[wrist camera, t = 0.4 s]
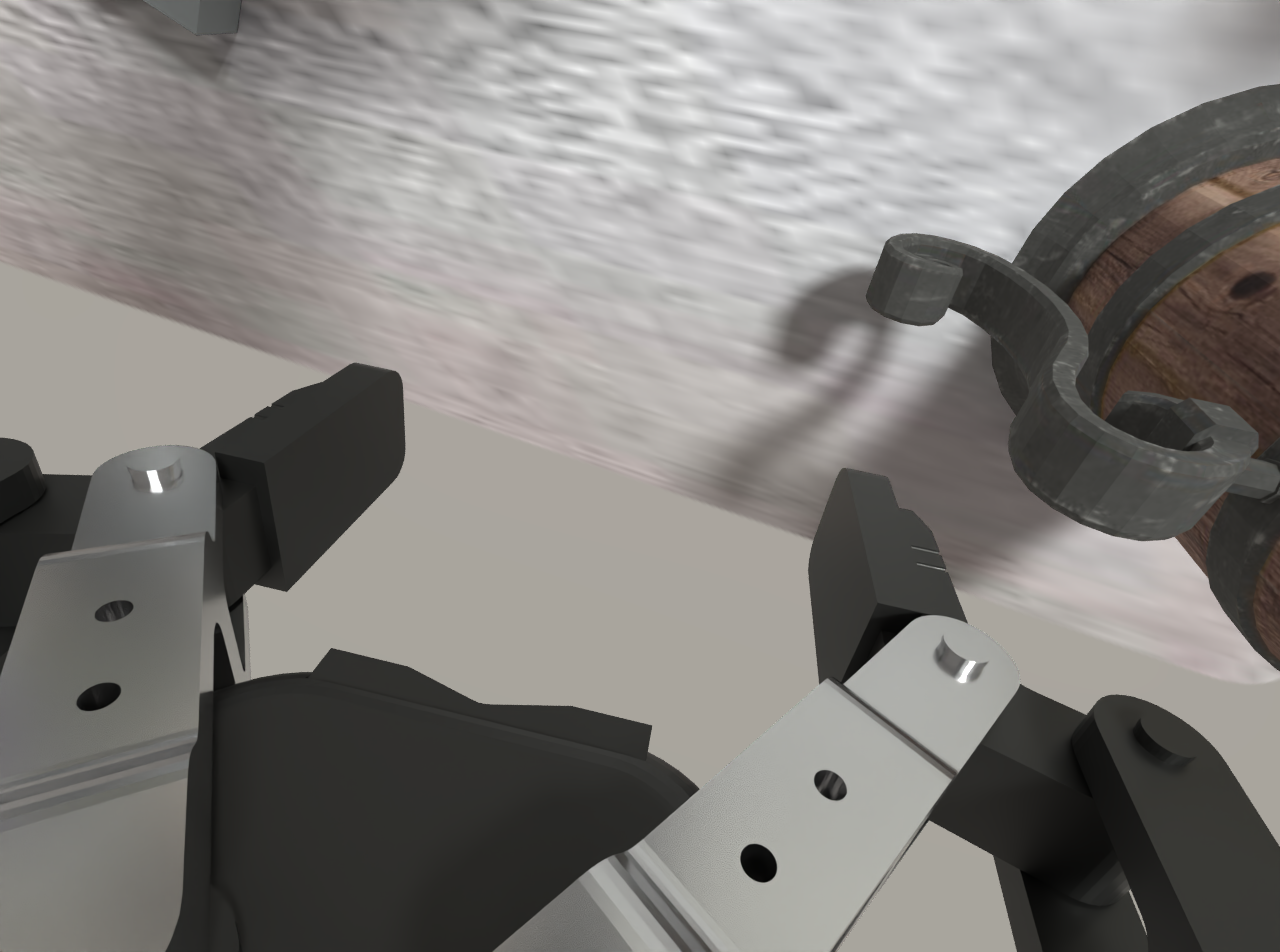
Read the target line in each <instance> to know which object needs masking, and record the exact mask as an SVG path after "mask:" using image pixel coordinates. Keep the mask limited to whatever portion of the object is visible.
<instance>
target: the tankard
mask: <svg viewBox="0 0 1280 952" xmlns="http://www.w3.org/2000/svg"><path fill="white" fill-rule="evenodd" d="M866 298H867V302H868V303H869V305H870V306H871V308H872V309H873V310H875V311H876V312H878V313H880V314H881V315H883V316H884V317H887V318H890V319H892V320H895V321H897V322H900V323H905V324H910V325H915V326H927V325H934V324H935V323H936V322H938V321H939V320H940V319H941V318H942V317H943V316H944V315H945V313H946V310H947V308H950V309H952V310H954V311H956V312H958V313H960V314H962V315H964V316H965V317H967V318H968V319H970V320H971V321H973V322H974V323H975V324H977V325H978V326H980V327H981V328H983V329H984V330H985V331H986V332H987V333H988V334H990V335H991V349H992V365H993V369H994V372H995V375H996V378H997V381H998V384H999V387H1000V390H1001V393H1002V395H1003V396H1004V398H1005V399H1006V401H1007V402H1008V404H1009V405H1010V407H1011V408H1012V410H1013V411H1014V413H1015V414H1016V417H1015V419H1014V421H1013V422H1012V424H1011V426H1010V434H1009V442H1008V445H1009V454H1010V457H1011V460H1012V464H1013V467H1014V470H1015V472H1016V473H1017V474H1018V476H1019V477H1020V478H1021V480H1022V481H1023V482H1024V484H1025V485H1026V486H1027V488H1028V489H1029V490H1030V491H1031V492H1033V493H1034V494H1035V495H1036V496H1038V497H1039V498H1040V499H1042V500H1043V501H1044V502H1045V503H1047V504H1048V505H1049V506H1050V507H1052V508H1053V509H1055V510H1057V511H1059V512H1060V513H1062V514H1064V515H1066V516H1068V517H1069V518H1071V519H1073V520H1075V521H1077V522H1078V523H1080V524H1082V525H1085V526H1088V527H1090V528H1093V529H1096V530H1098V531H1101V532H1103V533H1106V534H1109V535H1111V536H1116V537H1121V538H1127V539H1132V540H1138V541H1153V540H1166V539H1169V538H1172V537H1175V538H1176V539H1177V540H1178V541H1179V542H1180V544H1181V545H1182V546H1183V547H1184V549H1185V550H1186V551H1187V552H1188V554H1189V555H1190V556H1191V557H1192V559H1193V560H1194V561H1195V562H1196V564H1197V565H1198V566H1199V567H1200V569H1201V570H1202V571H1203V572H1204V573H1205V575H1206V576H1207V577H1208V578H1209V584H1210V588H1211V590H1212V592H1213V594H1214V595H1215V597H1216V599H1217V600H1218V602H1219V604H1220V605H1221V607H1222V609H1223V610H1224V612H1225V613H1226V614H1227V616H1228V617H1229V618H1230V619H1231V621H1232V622H1233V623H1234V625H1235V626H1236V627H1237V628H1238V630H1239V631H1240V632H1241V633H1242V635H1243V636H1244V637H1245V638H1246V640H1247V641H1248V642H1249V643H1250V645H1251V646H1252V647H1253V648H1254V650H1255V651H1256V652H1258V653H1259V654H1260V655H1261V656H1262V657H1263V658H1264V659H1265V660H1267V661H1268V662H1269V663H1270V664H1271V665H1272V666H1273V667H1274V668H1276V669H1277V670H1278V671H1280V84H1277V85H1269V86H1261V87H1256V88H1253V89H1250V90H1246V91H1243V92H1240V93H1236V94H1233V95H1230V96H1226V97H1223V98H1220V99H1216V100H1213V101H1210V102H1206V103H1203V104H1201V105H1199V106H1197V107H1195V108H1192V109H1190V110H1188V111H1186V112H1184V113H1182V114H1180V115H1177V116H1175V117H1173V118H1171V119H1169V120H1167V121H1165V122H1163V123H1160V124H1158V125H1156V126H1154V127H1152V128H1150V129H1149V130H1147V131H1145V132H1144V133H1142V134H1141V135H1139V136H1138V137H1136V138H1135V139H1133V140H1132V141H1130V142H1129V143H1127V144H1126V145H1124V146H1122V147H1121V148H1119V149H1118V150H1116V151H1115V152H1113V153H1112V154H1110V155H1109V156H1107V157H1106V158H1104V159H1103V160H1102V161H1101V162H1099V163H1098V164H1097V165H1096V166H1095V167H1094V168H1093V169H1091V170H1090V171H1089V172H1088V173H1087V174H1086V175H1084V176H1083V177H1082V178H1081V179H1080V180H1079V181H1078V182H1076V183H1075V184H1074V185H1073V186H1072V187H1071V188H1070V189H1068V190H1067V191H1066V192H1065V193H1064V194H1063V195H1062V196H1061V198H1060V199H1059V200H1058V201H1057V202H1056V203H1055V205H1054V206H1053V207H1052V208H1051V209H1050V210H1049V211H1048V213H1047V214H1046V215H1045V216H1044V217H1043V218H1042V220H1041V221H1040V222H1039V223H1038V224H1037V225H1036V227H1035V228H1034V229H1033V230H1032V232H1031V234H1030V235H1029V237H1028V238H1027V240H1026V242H1025V243H1024V245H1023V247H1022V248H1021V250H1020V251H1019V253H1018V255H1017V256H1016V258H1015V260H1014V261H1013V263H1010V262H1008V261H1006V260H1004V259H1003V258H1001V257H999V256H997V255H994V254H992V253H989V252H987V251H984V250H982V249H980V248H977V247H975V246H971V245H968V244H965V243H961V242H958V241H955V240H951V239H947V238H942V237H938V236H933V235H925V234H917V233H912V234H899V235H896V236H893V237H891V238H890V239H888V240H887V241H886V243H885V246H884V248H883V251H882V253H881V256H880V259H879V262H878V264H877V267H876V270H875V272H874V275H873V278H872V280H871V283H870V286H869V288H868V291H867V294H866Z"/></svg>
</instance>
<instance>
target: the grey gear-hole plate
mask: <svg viewBox="0 0 1280 952" xmlns="http://www.w3.org/2000/svg"><path fill="white" fill-rule="evenodd" d="M143 1H144V2H146V3H148V4H149V5H151V6H152V7H154V8H155V9H157V10H158V11H160V12H161V13H163V14H164V15H166V16H167V17H169V18H170V19H172V20H173V21H175V22H177V23H178V24H180V25H181V26H183V27H184V28H186V29H187V30H189V31H190V32H192V33H193V34H195V35H210V34H226V33H237V28H238V21H239V14H240V6H241V0H143Z"/></svg>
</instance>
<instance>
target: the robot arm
mask: <svg viewBox="0 0 1280 952" xmlns="http://www.w3.org/2000/svg"><path fill="white" fill-rule="evenodd" d="M404 456H405V426H404V402H403V384H402V379H401V377H400V375H399V374H398V372H396V371H393V370H388V369H383V368H379V367H374V366H369V365H365V364H360V363H352V364H350V365H348V366H347V367H345V368H344V369H342V370H341V371H339V372H338V373H336V374H334V375H333V376H331V377H330V378H328V379H327V380H325V381H324V382H320V383H317V384H314V385H310V386H307V387H304V388H301V389H298V390H294V391H292V392H290V393H288V394H287V395H285V396H284V397H282V398H281V399H279V400H277V401H276V402H274V403H272V406H271V407H268V406H267V407H266V408H264V409H263V410H261V411H259V412H258V413H256V414H255V417H254V418H252V417H250V418H248V419H246V420H245V421H243V422H242V423H240V424H239V425H237V426H235V427H234V428H232V429H230V430H229V431H227V432H226V433H224V434H222V435H221V436H219V437H217V438H216V439H214V440H213V441H211V442H209V443H208V444H206V445H205V446H203V447H201V448H200V449H198V448H194V447H189V446H179V445H167V446H166V445H165V446H154V447H147V448H142V449H137V450H133V451H130V452H127V453H124V454H121V455H119V456H116V457H114V458H112V459H110V460H108V461H107V462H105V463H103V464H102V465H101V466H100V467H98V468H97V469H96V471H95V472H94V473H93V475H92V476H90V475H51V474H50V475H49V474H42V472H41V470H40V467H39V464H38V462H37V459H36V457H35V454H34V451H33V450H32V448H31V447H30V446H29V445H28V444H26V443H24V442H21V441H18V440H14V439H8V438H0V952H837V951H838V949H839V948H840V946H841V945H842V943H843V942H844V941H845V939H846V938H847V936H848V935H849V933H850V932H851V931H852V929H853V928H854V926H855V925H856V923H857V922H858V920H859V919H860V917H861V916H862V915H863V913H864V912H865V910H866V909H867V908H868V906H869V905H870V903H871V902H872V900H873V899H874V897H875V896H876V895H877V893H878V892H879V891H880V889H881V888H882V886H883V885H884V884H885V882H886V881H887V879H888V878H889V876H890V875H891V874H892V872H893V871H894V869H895V868H896V867H897V865H898V864H899V862H900V861H901V859H902V858H903V857H904V855H905V854H906V852H907V851H908V850H909V848H910V847H911V845H912V844H913V842H914V841H915V840H916V838H917V837H918V835H919V834H920V833H921V831H922V830H923V828H924V827H925V826H926V824H927V823H928V821H929V820H930V821H932V822H934V823H935V824H937V825H939V826H941V827H943V828H945V829H946V830H948V831H950V832H952V833H954V834H956V835H957V836H959V837H961V838H963V839H965V840H967V841H968V842H970V843H972V844H974V845H976V846H978V847H979V848H981V849H983V850H985V851H987V852H989V853H990V854H992V855H993V857H994V860H995V864H996V869H997V873H998V877H999V881H1000V885H1001V889H1002V893H1003V897H1004V901H1005V905H1006V909H1007V913H1008V917H1009V921H1010V925H1011V929H1012V933H1013V937H1014V941H1015V945H1016V949H1017V952H1280V847H1279V845H1278V843H1277V842H1276V840H1275V839H1274V837H1273V836H1272V834H1271V832H1270V831H1269V829H1268V828H1267V826H1266V825H1265V823H1264V821H1263V820H1262V818H1261V817H1260V815H1259V814H1258V812H1257V810H1256V809H1255V807H1254V806H1253V804H1252V803H1251V801H1250V800H1249V798H1248V796H1247V795H1246V793H1245V792H1244V790H1243V789H1242V787H1241V785H1240V784H1239V782H1238V781H1237V779H1236V778H1235V776H1234V774H1233V773H1232V771H1231V770H1230V768H1229V767H1228V765H1227V763H1226V762H1225V761H1224V759H1223V758H1222V756H1221V755H1220V754H1219V752H1218V751H1217V750H1216V749H1215V748H1214V747H1213V746H1212V745H1211V743H1210V742H1209V741H1207V740H1206V739H1205V738H1204V737H1203V736H1202V735H1201V734H1200V733H1199V732H1197V731H1196V730H1195V729H1194V728H1192V727H1191V726H1190V725H1189V724H1187V723H1186V722H1184V721H1183V720H1181V719H1180V718H1178V717H1177V716H1175V715H1173V714H1172V713H1170V712H1168V711H1167V710H1164V709H1162V708H1160V707H1159V706H1157V705H1154V704H1152V703H1149V702H1147V701H1145V700H1142V699H1138V698H1135V697H1131V696H1126V695H1108V696H1105V697H1102V698H1101V699H1100V700H1098V701H1097V703H1096V704H1095V705H1094V706H1093V708H1092V709H1091V710H1090V711H1089V713H1088V714H1087V715H1085V714H1083V713H1081V712H1078V711H1076V710H1074V709H1072V708H1070V707H1067V706H1065V705H1063V704H1061V703H1059V702H1056V701H1054V700H1052V699H1050V698H1047V697H1045V696H1043V695H1041V694H1038V693H1036V692H1034V691H1032V690H1030V689H1028V688H1026V687H1024V686H1023V685H1021V684H1020V674H1019V671H1018V668H1017V666H1016V664H1015V662H1014V661H1013V659H1012V657H1011V656H1010V655H1009V654H1008V653H1007V651H1006V650H1005V649H1004V648H1003V647H1002V646H1001V645H1000V644H999V643H998V642H996V641H995V640H994V639H993V638H991V637H990V636H988V635H987V634H986V633H984V632H983V631H981V630H979V629H977V628H975V627H974V626H972V625H969V624H968V623H967V620H966V617H965V615H964V612H963V610H962V607H961V605H960V602H959V600H958V597H957V595H956V592H955V589H954V587H953V584H952V582H951V579H950V577H949V574H948V572H945V570H946V566H945V564H944V561H943V559H942V556H941V555H939V549H938V546H937V544H936V541H935V539H934V536H933V533H932V531H931V530H930V529H929V528H928V527H927V526H926V525H925V524H924V523H923V522H922V520H921V519H920V518H919V517H918V516H917V515H916V514H915V513H914V512H913V511H911V510H906V509H901V508H898V505H897V502H896V499H895V496H894V493H893V490H892V487H891V484H890V481H889V479H888V478H887V477H885V476H881V475H876V474H871V473H867V472H862V471H857V470H853V469H848V468H843V469H842V470H841V471H840V472H839V474H838V476H837V478H836V481H835V483H834V486H833V489H832V492H831V494H830V497H829V500H828V502H827V505H826V508H825V511H824V513H823V516H822V519H821V521H820V524H819V527H818V530H817V532H816V535H815V538H814V541H813V544H812V548H811V553H810V558H809V568H808V573H809V584H810V595H811V605H812V615H813V625H814V635H815V646H816V656H817V666H818V676H819V685H818V686H817V687H816V688H815V689H814V690H812V691H811V692H810V693H809V694H808V695H807V696H806V697H804V698H803V699H802V700H801V701H800V702H799V703H798V704H797V705H795V706H794V707H793V708H792V709H791V710H790V711H789V712H787V713H786V714H785V715H784V716H783V717H782V718H781V719H780V720H778V721H777V722H776V723H775V724H774V725H773V726H771V727H770V728H769V729H768V730H767V731H766V732H765V733H763V734H762V735H761V736H760V737H759V738H758V739H757V740H755V741H754V742H753V743H752V744H751V745H750V746H749V747H748V748H746V749H745V750H744V751H743V752H742V753H741V754H740V755H738V756H737V757H736V758H735V759H734V760H733V761H732V762H731V763H729V764H728V765H727V766H726V767H725V768H724V769H723V770H721V771H720V772H719V773H718V774H717V775H716V776H714V777H713V778H712V779H711V780H710V781H709V782H708V783H706V784H705V785H704V786H703V787H702V788H701V789H699V788H698V787H697V786H696V785H695V784H694V783H693V782H692V781H691V780H689V779H688V778H687V777H686V776H685V775H684V774H682V773H681V772H680V771H679V770H677V769H675V768H674V767H672V766H671V765H670V764H668V763H667V762H665V761H664V760H662V759H660V758H658V757H656V756H655V755H653V754H651V753H649V752H648V747H649V741H650V735H651V730H652V725H648V724H644V723H639V722H635V721H631V720H627V719H623V718H619V717H615V716H610V715H606V714H602V713H598V712H594V711H589V710H585V709H582V708H577V707H573V706H541V705H540V706H539V705H490V704H482V703H478V702H476V701H473V700H471V699H469V698H468V697H466V696H464V695H462V694H460V693H458V692H456V691H454V690H452V689H450V688H448V687H446V686H445V685H443V684H441V683H439V682H437V681H435V680H433V679H431V678H429V677H427V676H425V675H423V674H421V673H420V672H418V671H416V670H414V669H412V668H410V667H408V666H403V665H399V664H395V663H391V662H387V661H383V660H379V659H374V658H370V657H366V656H362V655H358V654H354V653H350V652H346V651H341V650H337V649H333V648H331V649H330V650H329V652H328V653H327V654H326V655H325V657H324V658H323V659H322V660H321V662H320V663H319V664H318V666H317V667H316V668H315V669H314V671H313V672H299V673H287V674H279V675H273V676H266V677H261V678H257V679H253V680H251V669H250V644H249V623H248V622H249V621H248V606H247V602H246V597H245V593H246V592H247V590H249V589H250V588H251V587H252V586H253V585H254V584H256V585H260V586H264V587H269V588H273V589H277V590H281V591H286V592H287V591H288V590H289V589H290V588H291V587H292V586H293V585H294V584H295V583H296V582H297V581H298V580H299V579H300V578H301V577H302V575H304V574H305V573H306V571H307V570H308V569H309V568H310V567H311V566H312V565H313V564H314V563H315V562H316V561H317V560H318V559H319V558H320V557H321V556H322V555H323V554H324V553H325V552H326V551H327V550H328V549H329V548H330V547H331V545H332V544H334V542H335V541H336V540H337V539H338V538H339V537H340V536H341V535H342V534H343V533H344V532H345V531H346V530H347V529H348V528H349V527H350V526H351V525H352V524H353V523H354V522H355V521H356V520H357V519H358V517H360V516H361V514H362V513H363V512H364V511H365V510H366V509H367V508H368V507H369V506H370V505H371V504H372V503H373V502H374V501H375V500H376V499H377V498H378V497H379V496H380V495H381V494H382V493H383V492H384V491H385V490H386V489H387V488H388V487H389V485H390V484H391V483H392V482H393V481H394V480H395V479H396V478H397V476H398V474H399V472H400V470H401V468H402V465H403V461H404ZM1130 889H1131V891H1132V893H1133V896H1134V898H1135V901H1136V903H1137V905H1138V908H1139V910H1140V913H1141V915H1142V918H1143V921H1144V923H1145V927H1146V931H1147V935H1146V932H1145V930H1144V927H1143V925H1142V922H1141V920H1140V918H1139V915H1138V913H1137V910H1136V908H1135V905H1134V903H1133V900H1132V898H1131V896H1130V893H1129V890H1130Z"/></svg>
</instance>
